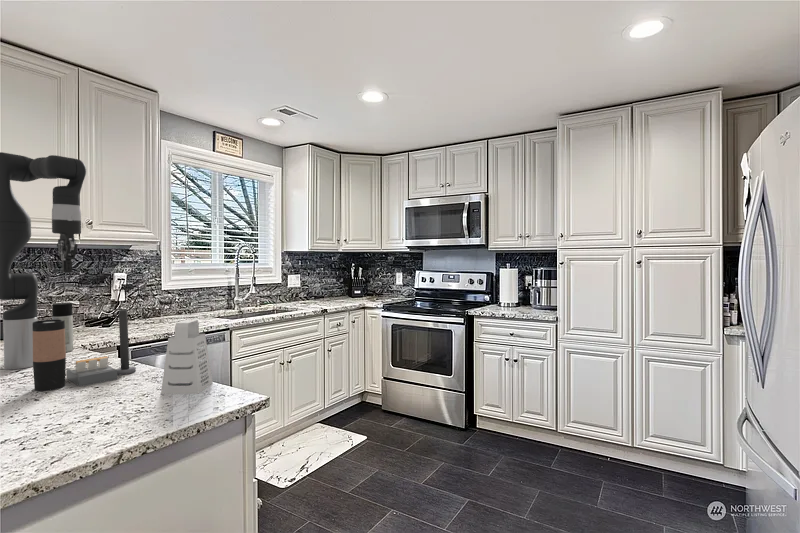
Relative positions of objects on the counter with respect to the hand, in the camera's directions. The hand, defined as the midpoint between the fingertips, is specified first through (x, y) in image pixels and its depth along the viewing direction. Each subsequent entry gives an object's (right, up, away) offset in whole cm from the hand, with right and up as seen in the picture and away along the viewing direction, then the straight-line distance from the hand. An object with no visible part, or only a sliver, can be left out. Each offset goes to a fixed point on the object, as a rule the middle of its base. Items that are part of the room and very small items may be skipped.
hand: (67, 272), depth 140 cm
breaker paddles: (+10, -31, -2) cm, 33 cm away
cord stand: (+16, -34, +5) cm, 38 cm away
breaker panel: (+10, -34, -2) cm, 36 cm away
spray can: (-30, -34, +37) cm, 59 cm away
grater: (+45, -35, -12) cm, 58 cm away
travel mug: (+4, -35, -12) cm, 37 cm away
